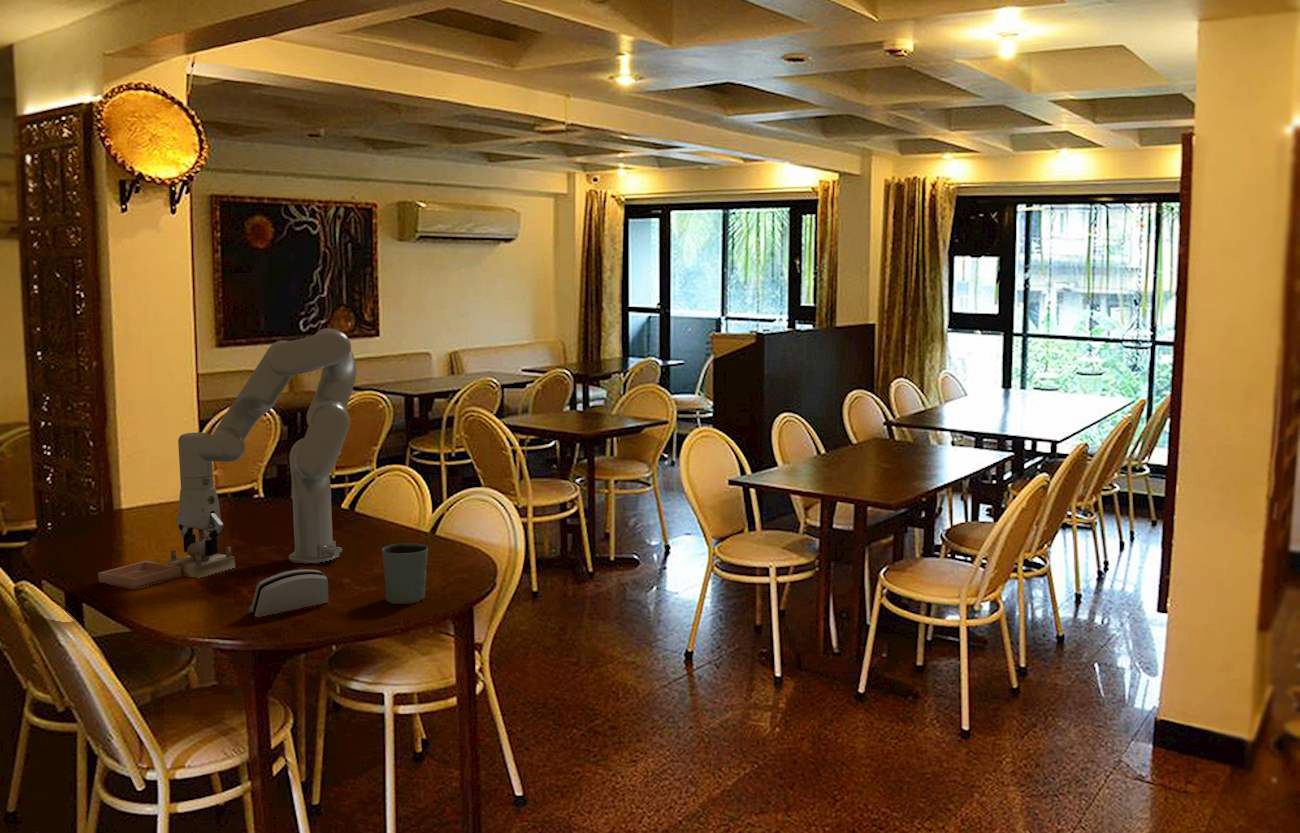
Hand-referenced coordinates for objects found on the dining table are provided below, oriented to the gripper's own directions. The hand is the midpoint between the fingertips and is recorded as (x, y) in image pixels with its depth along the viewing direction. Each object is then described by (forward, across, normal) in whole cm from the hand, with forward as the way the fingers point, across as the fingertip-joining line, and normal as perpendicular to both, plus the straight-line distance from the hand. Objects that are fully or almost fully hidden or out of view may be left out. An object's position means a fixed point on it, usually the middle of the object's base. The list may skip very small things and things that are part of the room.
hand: (200, 552), depth 277 cm
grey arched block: (+5, -45, +13) cm, 47 cm away
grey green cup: (+5, -62, -5) cm, 62 cm away
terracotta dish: (+5, +6, +13) cm, 15 cm away
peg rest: (+5, 0, 0) cm, 5 cm away
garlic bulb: (+2, 0, 0) cm, 2 cm away
